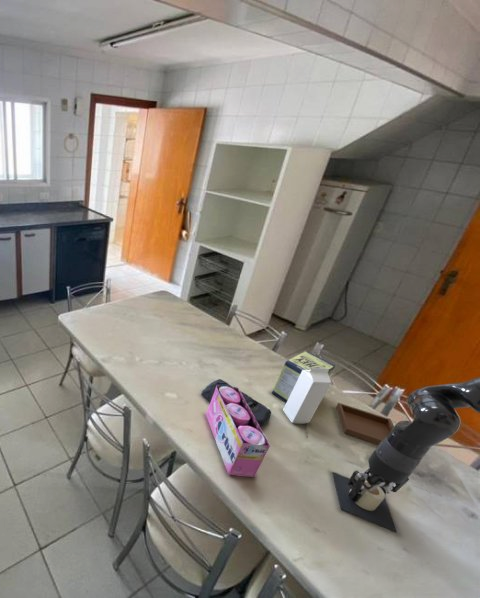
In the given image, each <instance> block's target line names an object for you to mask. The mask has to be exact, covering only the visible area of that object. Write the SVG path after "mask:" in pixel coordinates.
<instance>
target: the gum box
mask: <svg viewBox="0 0 480 598" xmlns="http://www.w3.org/2000/svg"><path fill="white" fill-rule="evenodd" d="M232 387H233V388H230V387H226V386H225V387H220V388H219V385H218V386H216V389H215V392H214V394H213V397H212V400H211V402H209V406H208V408H207V411H206V414H205V417H206V419H207V421H208V425H209V428H210V429H211V432H212V435H213V438H214V440H215V443H216V446H217V448H218V451H219V453H220V456H221V460H222V461H223V464H224V467H225V470H226V472H227V474H228V475H229V476H238V477H251V478H255V477H256V475H257V473H258V471H259V469H260V466H261V465H262V463H263V462H264V459H265V457H266V455H267V454H268V452H269V449H270V447H271V444H270V443H269V440H268V438H267V436H266V435H265V433H264V431H263V430H262V428H261V426H259V424H258V423H257V421H256V419H255V417H254V415H253V414H252V412H251V410H250V408H249V407H248V405H247V403H246V401H245V399H244V397H243V395H242V394H241V392H242V391H241V390H240V389H239V387H237V386H232ZM240 391H241V392H240Z"/></svg>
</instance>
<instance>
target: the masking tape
mask: <svg viewBox="0 0 480 598" xmlns="http://www.w3.org/2000/svg"><path fill="white" fill-rule="evenodd" d="M365 480H366V479H365ZM365 482H366V483H367V485H368V486H369V487H370V486H371V485H370V484H369V483H368V482H367V481H365ZM363 488H364V486H362V487H361V489H363ZM351 490H352V489H351ZM351 490H350V491H351ZM350 491H349V492H350ZM384 498H385V499H386V494H384V492H383V490H382V489H381V488H380V487H377V488H376V489H374V490H373V491H367V492H365V493H364V494H363V495H362V496H361V498H360V499H359V500H358V501H357V502H355V503H356V504H357V505H359V506H360V507H362V508H363V509H366V510H369V511H373V510H375V509H376V508H377V507H378V505H379V504H380V503H381V502H382V501H383V499H384Z"/></svg>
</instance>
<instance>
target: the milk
mask: <svg viewBox="0 0 480 598" xmlns="http://www.w3.org/2000/svg"><path fill="white" fill-rule="evenodd" d="M328 371H329V369H324V368H312V369H311V370H302V372H301V374H300V376H299V378H298V380H297V382H296V384H295V386H294V388H293V390H292V392H291V394H290V396H289V399H288V401H287V403H286V402H285V405H284V406H283V409H282V412H283V413H284V414H285V416H286V417H287V419H288V420H289V421H290V422H291V424H301V425H307V424H308V423H310V422H311V420H312V418H313V417H314V415H315V413H316V412H317V409H318V407H319V406H320V405H321V402H322V401H323V398H324V397H325V396H326V393H327V391H328V390H329V388H330V387H331V385H332V381H331V378H330V376H329V375H328Z"/></svg>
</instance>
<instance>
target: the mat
mask: <svg viewBox="0 0 480 598" xmlns="http://www.w3.org/2000/svg"><path fill="white" fill-rule="evenodd" d="M331 474H332V477H333V482H334V486H335V490H336V494H337V495H336V496H337V498H338V503H339V507H340V510H341V511H343V512H346V513H348V514H351V515H353V516H355V517H358V518H360V519H363V520H365V521H368V522H369V523H372V524H374V525H377V526H379V527H382V528H384V529H387V530H388V531H389V530H390V531H391V532H394V533H397V532H398V530H397V527H396V524H395V523H394V520H393V517H392V514H391V512H390V509H389V505H388V502H387V500H386V497H385V498H384V499H383V501H382V502H381V503H380V504H379V505H378V507H377V508H376V509H375V510H373V511H369V510H366V509H363V508H362V507H360V506H359V505H357V504H356V503H355V502H353V501H352V500H351V498H350V497H349V496H348V494H349V491H350V490H351V488H350V487H349V486H348V485H347V483H348V481H349V480H350V478H349V477H346V476H343V475H341V474H339V473H336V472H332V473H331Z"/></svg>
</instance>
